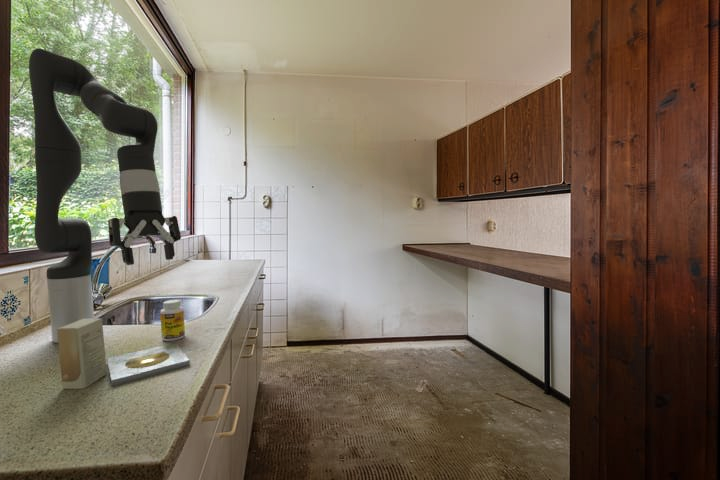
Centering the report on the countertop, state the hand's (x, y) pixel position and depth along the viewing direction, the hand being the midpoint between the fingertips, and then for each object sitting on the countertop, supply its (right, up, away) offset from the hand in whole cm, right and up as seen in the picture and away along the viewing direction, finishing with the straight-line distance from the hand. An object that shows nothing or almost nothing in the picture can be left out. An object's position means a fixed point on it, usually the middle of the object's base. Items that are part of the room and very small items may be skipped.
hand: (150, 262), depth 78 cm
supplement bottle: (-3, -22, +15) cm, 27 cm away
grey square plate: (+1, -23, -2) cm, 23 cm away
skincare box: (-7, -24, -10) cm, 27 cm away
